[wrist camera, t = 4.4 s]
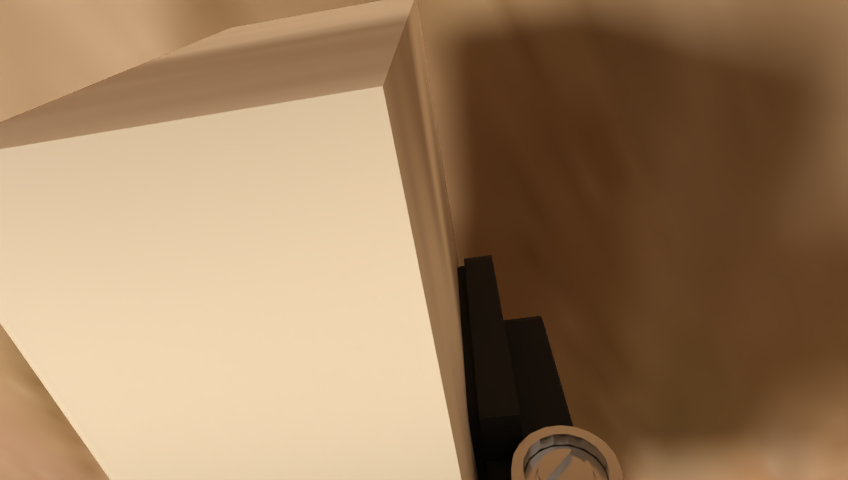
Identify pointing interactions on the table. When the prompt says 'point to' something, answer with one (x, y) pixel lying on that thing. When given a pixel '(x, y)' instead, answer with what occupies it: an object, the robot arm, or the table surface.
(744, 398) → the table surface
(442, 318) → the beige piece
